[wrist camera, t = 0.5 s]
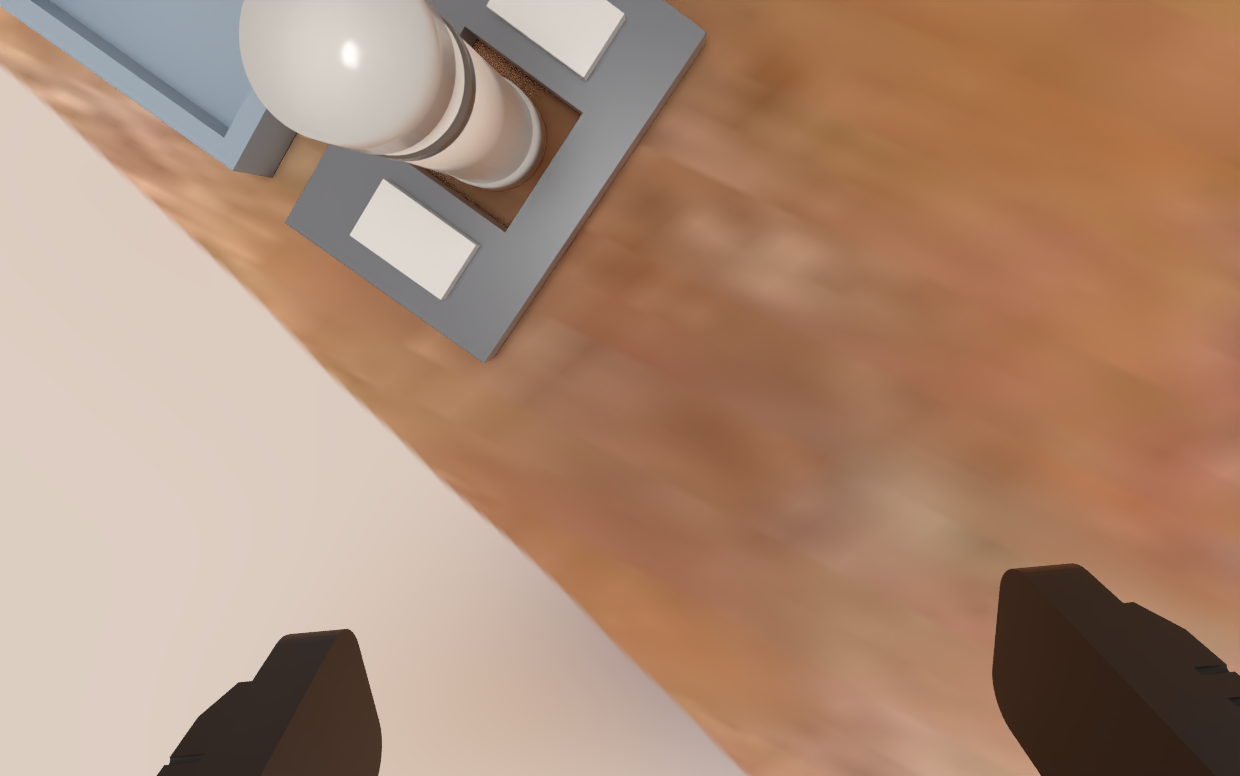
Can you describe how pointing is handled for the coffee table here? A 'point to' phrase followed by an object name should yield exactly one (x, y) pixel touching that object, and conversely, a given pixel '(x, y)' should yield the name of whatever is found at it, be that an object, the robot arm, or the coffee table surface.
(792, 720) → the coffee table surface
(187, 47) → the parts tray
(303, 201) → the block
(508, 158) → the fuse
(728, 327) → the coffee table surface
